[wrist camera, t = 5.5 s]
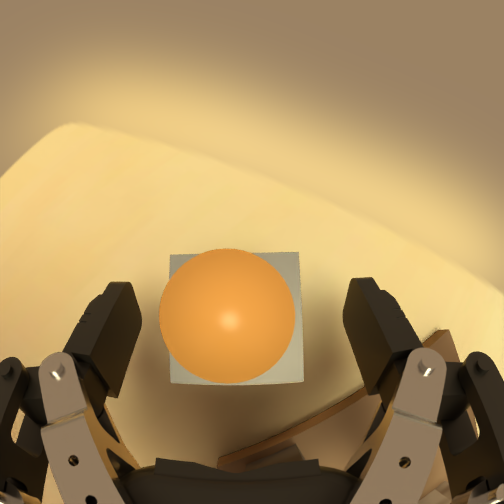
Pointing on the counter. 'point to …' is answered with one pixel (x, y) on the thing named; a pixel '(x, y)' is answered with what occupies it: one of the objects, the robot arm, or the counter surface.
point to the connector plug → (233, 318)
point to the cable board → (343, 435)
